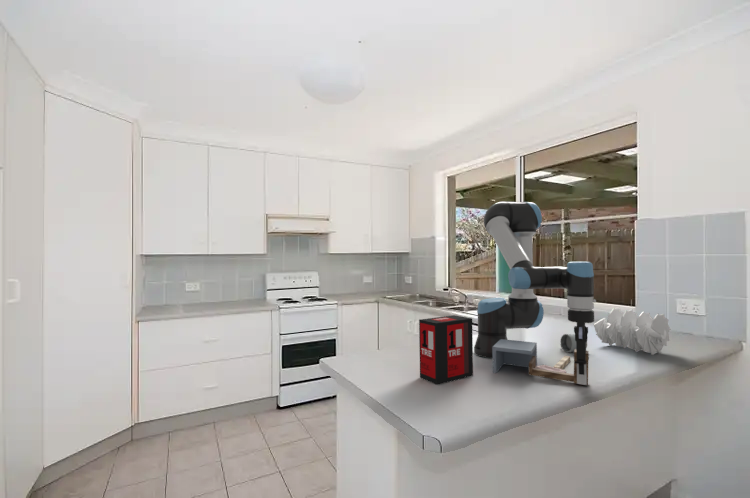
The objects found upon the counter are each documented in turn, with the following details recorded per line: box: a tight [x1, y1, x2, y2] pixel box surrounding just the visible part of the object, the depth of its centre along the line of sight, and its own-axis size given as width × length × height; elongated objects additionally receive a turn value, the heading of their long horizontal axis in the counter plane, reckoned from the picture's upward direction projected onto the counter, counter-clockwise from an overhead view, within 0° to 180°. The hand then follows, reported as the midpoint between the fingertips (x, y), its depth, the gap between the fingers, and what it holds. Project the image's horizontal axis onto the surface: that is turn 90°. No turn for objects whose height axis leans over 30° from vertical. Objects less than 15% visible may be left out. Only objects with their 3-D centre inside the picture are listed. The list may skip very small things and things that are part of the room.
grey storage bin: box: [492, 339, 538, 374], centre depth 138 cm, size 13×14×9 cm
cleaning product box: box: [418, 314, 474, 386], centre depth 132 cm, size 16×9×20 cm, turn 122°
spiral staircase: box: [593, 307, 671, 356], centre depth 165 cm, size 18×18×25 cm
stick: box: [552, 355, 571, 370], centre depth 143 cm, size 18×2×2 cm, turn 142°
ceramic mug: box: [559, 333, 588, 353], centre depth 165 cm, size 11×8×8 cm
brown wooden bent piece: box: [528, 349, 589, 386], centre depth 129 cm, size 18×11×10 cm, turn 61°
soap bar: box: [535, 364, 567, 373], centre depth 132 cm, size 5×9×2 cm, turn 31°
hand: (582, 381), depth 122 cm, fingers closed on brown wooden bent piece, 4 cm apart
